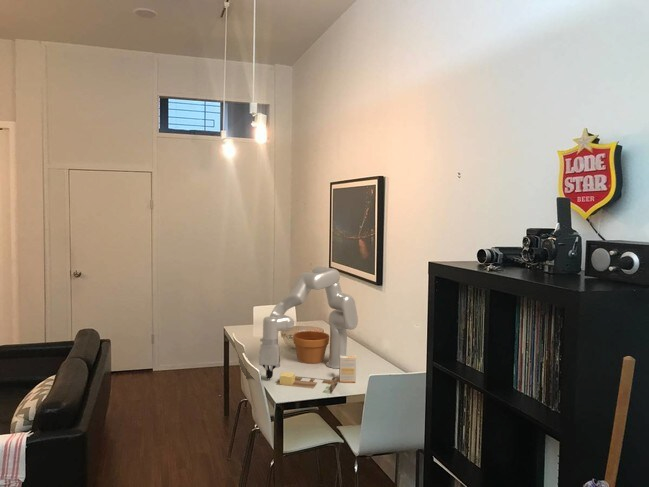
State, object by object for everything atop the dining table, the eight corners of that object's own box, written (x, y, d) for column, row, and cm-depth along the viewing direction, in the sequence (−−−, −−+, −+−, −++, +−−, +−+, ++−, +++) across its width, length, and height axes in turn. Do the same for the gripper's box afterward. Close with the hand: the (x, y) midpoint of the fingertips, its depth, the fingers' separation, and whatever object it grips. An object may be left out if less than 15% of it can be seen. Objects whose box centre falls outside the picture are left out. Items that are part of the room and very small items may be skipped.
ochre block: (283, 379, 256) (283, 372, 256) (294, 381, 255) (295, 373, 255) (279, 383, 250) (279, 375, 250) (291, 385, 249) (291, 377, 249)
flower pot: (324, 367, 285) (325, 341, 284) (288, 363, 289) (288, 338, 288) (331, 356, 305) (332, 332, 304) (297, 353, 309) (298, 329, 309)
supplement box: (354, 379, 264) (355, 355, 264) (355, 383, 260) (356, 357, 259) (338, 379, 264) (339, 354, 263) (339, 382, 259) (340, 357, 259)
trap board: (284, 377, 264) (284, 371, 264) (337, 383, 258) (337, 376, 258) (275, 387, 249) (275, 380, 249) (331, 393, 243) (331, 386, 243)
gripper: (253, 342, 252) (252, 378, 253) (282, 344, 249) (281, 381, 250) (258, 338, 259) (257, 374, 260) (286, 341, 256) (285, 377, 257)
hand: (269, 377), depth 255 cm, fingers closed
